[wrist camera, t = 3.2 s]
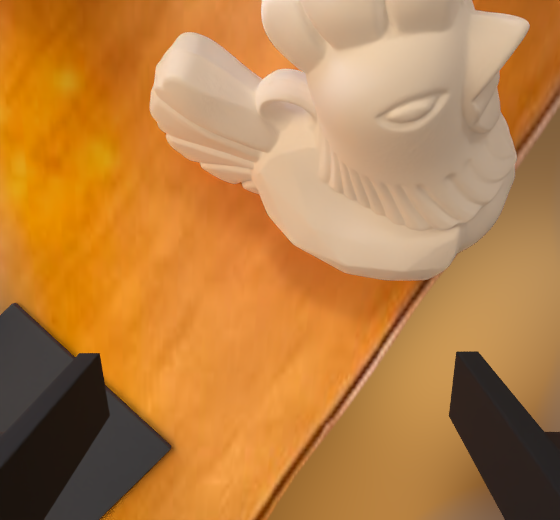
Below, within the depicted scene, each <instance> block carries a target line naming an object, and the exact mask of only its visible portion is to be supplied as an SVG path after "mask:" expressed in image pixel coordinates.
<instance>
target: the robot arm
mask: <svg viewBox="0 0 560 520" xmlns="http://www.w3.org/2000/svg"><path fill="white" fill-rule="evenodd" d="M109 417H110V413H109V407H108V401H107V395H106V389H105V383H104V377H103V371H102V365H101V359H100V353H79V354H78V355H77V356H76V357H75V359H74V360H73V361H72V362H71V363H70V364H69V365H68V366H67V367H66V368H65V369H64V370H63V371H62V372H61V373H60V374H59V375H58V376H57V378H56V379H55V380H54V381H53V382H52V383H51V384H50V385H49V386H48V387H47V388H46V389H45V390H44V391H43V392H42V393H41V394H40V396H39V397H38V398H37V399H36V400H35V401H34V402H33V403H32V404H31V405H30V406H29V407H28V408H27V409H26V410H25V411H24V412H23V413H22V415H21V416H20V417H19V418H18V419H17V420H16V421H15V422H14V423H13V424H12V425H11V426H10V427H9V428H8V429H7V430H6V431H5V432H0V520H44V519H45V517H46V516H47V514H48V513H49V511H50V509H51V508H52V506H53V505H54V503H55V502H56V500H57V498H58V497H59V495H60V494H61V492H62V491H63V489H64V487H65V486H66V484H67V483H68V481H69V480H70V478H71V476H72V475H73V473H74V472H75V470H76V469H77V467H78V465H79V464H80V462H81V461H82V459H83V458H84V456H85V454H86V453H87V451H88V450H89V448H90V446H91V445H92V443H93V442H94V440H95V439H96V437H97V435H98V434H99V432H100V431H101V429H102V428H103V426H104V424H105V423H106V421H107V420H108V418H109ZM449 417H450V419H451V420H452V422H453V424H454V426H455V428H456V430H457V432H458V434H459V435H460V437H461V439H462V441H463V443H464V445H465V446H466V448H467V450H468V452H469V454H470V456H471V458H472V459H473V461H474V463H475V465H476V467H477V468H478V471H479V472H480V474H481V476H482V478H483V480H484V482H485V483H486V485H487V487H488V489H489V491H490V493H491V495H492V496H493V498H494V500H495V502H496V504H497V506H498V508H499V509H500V511H501V513H502V515H503V517H504V519H505V520H560V432H544V431H543V430H542V429H541V428H540V426H539V425H538V424H537V423H536V422H535V420H534V419H533V418H532V417H531V415H530V414H529V413H528V412H527V411H526V409H525V408H524V407H523V406H522V405H521V403H520V402H519V401H518V400H517V399H516V397H515V396H514V395H513V394H512V393H511V391H510V390H509V389H508V388H507V386H506V385H505V384H504V383H503V381H502V380H501V379H500V378H499V377H498V376H497V374H496V373H495V372H494V371H493V370H492V368H491V367H490V366H489V364H488V363H487V362H486V361H485V360H484V359H483V357H482V356H481V355H480V354H479V352H456V360H455V369H454V377H453V386H452V394H451V403H450V412H449Z"/></svg>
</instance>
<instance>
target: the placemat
mask: <svg viewBox="0 0 560 520" xmlns="http://www.w3.org/2000/svg"><path fill="white" fill-rule="evenodd" d="M74 359H75V357H74V356H73V355H72V354H71V353H70V352H69V351H68V350H66V349H65V348H64V347H63V346H62V345H61V344H60V343H59V342H58V341H57V340H56V339H54V338H53V337H52V336H51V335H50V334H49V333H48V332H47V331H46V330H45V329H44V328H43V327H41V326H40V325H39V324H38V323H37V322H36V321H35V320H34V319H33V318H32V317H31V316H29V315H28V314H27V313H26V312H25V311H24V310H23V309H22V308H21V307H20V306H19V305H18V304H16V303H13V304H11V305H10V306H9V307H8V308H7V309H6V310H5V311H4V312H3V313H2V314H1V315H0V432H5V431H6V430H7V429H8V428H9V427H10V426H11V425H12V424H13V423H14V422H15V421H16V420H17V419H18V418H19V417H20V416H21V415H22V413H23V412H24V411H25V410H26V409H27V408H28V407H29V406H30V405H31V404H32V403H33V402H34V401H35V400H36V399H37V398H38V397H39V396H40V394H41V393H42V392H43V391H44V390H45V389H46V388H47V387H48V386H49V385H50V384H51V383H52V382H53V381H54V380H55V379H56V378H57V376H58V375H59V374H60V373H61V372H62V371H63V370H64V369H65V368H66V367H67V366H68V365H69V364H70V363H71V362H72V361H73V360H74ZM105 389H106V395H107V401H108V407H109V413H110V417H109V418H108V420H107V421H106V423H105V424H104V426H103V428H102V429H101V431H100V432H99V434H98V435H97V437H96V439H95V440H94V442H93V443H92V445H91V446H90V448H89V450H88V451H87V453H86V454H85V456H84V458H83V459H82V461H81V462H80V464H79V465H78V467H77V469H76V470H75V472H74V473H73V475H72V476H71V478H70V480H69V481H68V483H67V484H66V486H65V487H64V489H63V491H62V492H61V494H60V495H59V497H58V498H57V500H56V502H55V503H54V505H53V506H52V508H51V509H50V511H49V513H48V514H47V516H46V517H45V519H44V520H99V519H100V518H101V517H102V516H103V515H104V514H105V513H106V512H107V511H108V510H109V509H110V508H111V507H112V506H113V505H114V504H115V503H116V502H117V501H118V500H119V499H120V498H121V497H122V496H123V495H124V494H126V493H127V492H128V491H129V490H130V489H131V488H132V487H133V486H134V485H135V484H136V483H137V482H138V481H139V480H140V479H141V478H142V477H143V476H144V475H145V474H146V473H147V472H148V471H149V470H150V469H151V468H152V467H153V466H154V465H155V464H156V463H157V462H158V461H159V460H160V459H161V458H162V457H163V456H164V455H165V454H166V453H167V452H168V451H169V450H170V449H171V445H170V444H169V443H167V442H166V441H165V440H164V439H163V438H162V437H161V436H160V435H159V434H158V433H157V432H156V431H154V430H153V429H152V428H151V427H150V426H149V425H148V424H147V423H146V422H145V421H144V420H142V419H141V418H140V417H139V416H138V415H137V414H136V413H135V412H134V411H133V410H132V409H131V408H129V407H128V406H127V405H126V404H125V403H124V402H123V401H122V400H121V399H120V398H119V397H117V396H116V395H115V394H114V393H113V392H112V391H111V390H110V389H109V388H108V387H107V386H106V385H105Z"/></svg>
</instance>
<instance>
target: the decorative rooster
mask: <svg viewBox="0 0 560 520" xmlns="http://www.w3.org/2000/svg"><path fill="white" fill-rule="evenodd" d="M261 16H262V23H263V27H264V30H265V32H266V34H267V36H268V38H269V40H270V41H271V43H272V44H273V45H274V46H275V47H276V49H277V50H278V51H279V52H280V53H281V54H282V55H283V56H285V57H286V58H287V59H288V60H289V61H290V62H291V63H292V64H294V65H295V66H296V67H297V68H298V69H300V70H301V71H303V72H301V71H298V70H294V69H279V70H276V71H274V72H272V73H271V74H269V75H267V76H266V77H265V78H264V79H262V78H260V77H259V76H258V75H256V74H255V73H253V72H252V71H251V70H249V69H248V68H247V67H246V66H244V65H243V64H242V63H241V62H240V61H239V60H237V59H236V58H235V57H234V56H233V55H231V54H230V53H229V52H228V51H227V50H225V49H224V48H223V47H222V46H220V45H219V44H217V43H216V42H215V41H213V40H211V39H210V38H208V37H206V36H203V35H201V34H198V33H193V32H186V33H183V34H181V35H179V36H178V38H177V39H176V41H175V42H174V43H173V45H172V46H171V47H170V48H169V49H168V50H167V51H166V53H165V54H164V56H163V57H162V59H161V60H160V62H159V63H158V64H157V66H156V72H155V80H154V85H153V87H152V90H151V98H150V113H151V115H152V117H153V118H154V119H155V120H156V121H157V125H158V127H159V128H160V129H161V130H162V131H163V132H165V133H166V139H167V141H168V143H169V144H170V145H171V147H172V148H174V149H175V150H176V151H178V152H179V153H181V154H182V155H183V156H184V157H185V158H187V159H189V160H191V161H195V162H200V166H201V167H202V168H203V169H204V170H206V171H207V172H209V173H210V174H212V175H213V176H215V177H217V178H219V179H221V180H223V181H226V182H228V183H231V184H237V183H240V182H241V183H242V186H243V187H244V189H246V190H248V191H250V192H253V193H256V194H260V197H261V200H262V202H263V205H264V207H265V210H266V212H267V214H268V216H269V217H270V218H271V220H272V221H273V222H274V223H275V224H276V225H277V227H278V228H279V229H280V230H281V231H282V232H283V234H284V235H285V236H286V237H287V238H288V239H289V241H290V242H291V243H292V244H293V245H295V246H296V247H298V248H300V249H302V250H304V251H305V252H307V253H309V254H311V255H313V256H315V257H317V258H318V259H320V260H322V261H324V262H326V263H327V264H329V265H331V266H333V267H335V268H336V269H338V270H340V271H342V272H344V273H347V274H352V275H358V276H363V277H369V278H375V279H380V280H392V281H393V280H398V281H402V280H403V281H411V280H413V281H414V280H427V279H430V278H432V277H434V276H436V275H438V274H440V273H441V272H443V271H444V270H445V269H447V268H448V267H449V265H450V264H451V262H452V261H453V259H454V258H455V256H456V254H457V253H459V252H461V251H463V250H465V249H467V248H469V247H470V246H472V245H473V244H474V243H476V242H477V241H478V240H479V239H481V238H482V237H483V236H484V235H485V234H486V233H487V232H488V231H489V230H490V229H491V227H492V226H493V225H494V223H495V222H496V220H497V219H498V217H499V215H500V214H501V212H502V209H503V207H504V204H505V201H506V199H507V196H508V193H509V191H510V188H511V186H512V184H513V181H514V178H515V163H516V161H517V155H516V151H515V148H514V144H513V141H512V138H511V135H510V132H509V128H508V125H507V122H506V120H505V118H504V117H503V115H502V113H501V112H500V101H499V95H498V90H497V85H498V83H499V78H500V75H499V70H500V69H501V68H502V67H503V65H504V64H505V63H506V62H507V60H508V59H509V58H510V56H511V55H512V54H513V52H514V51H515V49H516V48H517V47H518V45H519V44H520V43H521V41H522V40H523V38H524V37H525V35H526V34H527V32H528V30H529V27H530V25H529V22H528V21H527V20H525V19H523V18H520V17H518V16H513V15H508V14H502V13H492V12H484V11H477V10H475V8H474V5H473V2H472V0H262V6H261Z"/></svg>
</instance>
